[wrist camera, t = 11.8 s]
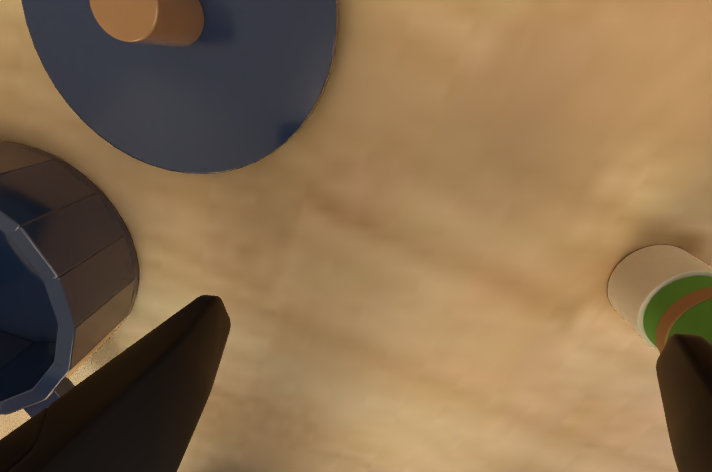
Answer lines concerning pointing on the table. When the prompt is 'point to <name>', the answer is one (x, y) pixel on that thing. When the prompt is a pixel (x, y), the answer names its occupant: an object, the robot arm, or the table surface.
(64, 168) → the pot
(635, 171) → the table surface
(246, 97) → the lid
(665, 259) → the green cylindrical container
